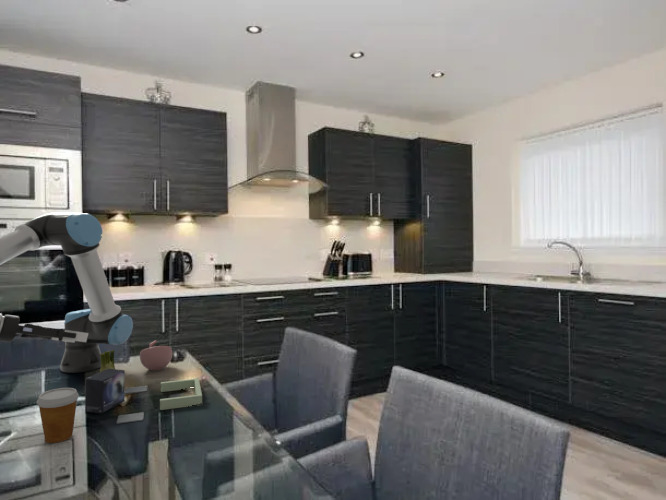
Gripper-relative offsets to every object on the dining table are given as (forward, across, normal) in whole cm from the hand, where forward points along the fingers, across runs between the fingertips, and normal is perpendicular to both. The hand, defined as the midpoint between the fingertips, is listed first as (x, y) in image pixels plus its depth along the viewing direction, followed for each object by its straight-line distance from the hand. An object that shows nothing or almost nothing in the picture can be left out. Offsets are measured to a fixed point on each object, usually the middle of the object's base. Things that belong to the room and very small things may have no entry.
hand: (81, 338), depth 138 cm
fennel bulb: (+17, -19, -14) cm, 29 cm away
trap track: (+26, +8, -16) cm, 32 cm away
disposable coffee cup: (-3, +15, -27) cm, 31 cm away
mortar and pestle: (+35, -24, -7) cm, 43 cm away
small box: (+12, +2, -20) cm, 23 cm away
